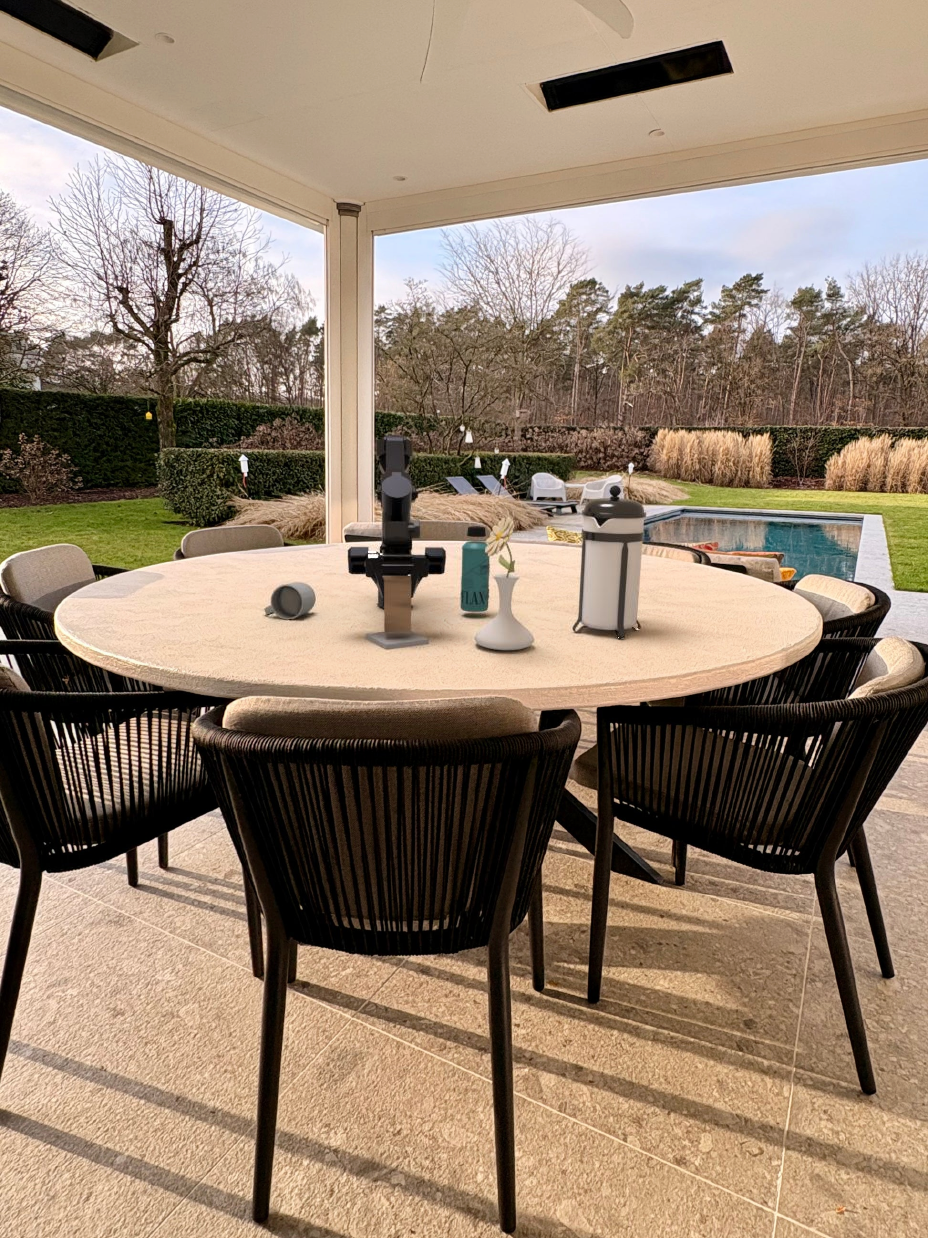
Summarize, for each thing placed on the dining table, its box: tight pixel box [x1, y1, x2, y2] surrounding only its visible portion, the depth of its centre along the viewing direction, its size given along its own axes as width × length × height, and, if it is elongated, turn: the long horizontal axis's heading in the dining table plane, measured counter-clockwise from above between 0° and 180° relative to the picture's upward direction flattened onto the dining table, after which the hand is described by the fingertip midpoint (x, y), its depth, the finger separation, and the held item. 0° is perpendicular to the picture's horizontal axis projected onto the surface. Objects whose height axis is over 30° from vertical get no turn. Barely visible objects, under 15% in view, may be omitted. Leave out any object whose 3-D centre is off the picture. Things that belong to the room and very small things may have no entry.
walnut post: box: [383, 575, 412, 633], centre depth 148 cm, size 5×5×10 cm
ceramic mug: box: [263, 581, 316, 620], centre depth 171 cm, size 11×8×8 cm
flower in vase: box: [473, 516, 535, 651], centre depth 144 cm, size 13×11×25 cm
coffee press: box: [572, 485, 647, 640], centre depth 160 cm, size 17×16×30 cm
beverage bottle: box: [459, 525, 491, 613], centre depth 172 cm, size 6×7×20 cm
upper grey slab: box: [364, 630, 430, 650], centre depth 150 cm, size 9×9×1 cm
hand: (397, 596), depth 147 cm, fingers closed on walnut post, 5 cm apart
